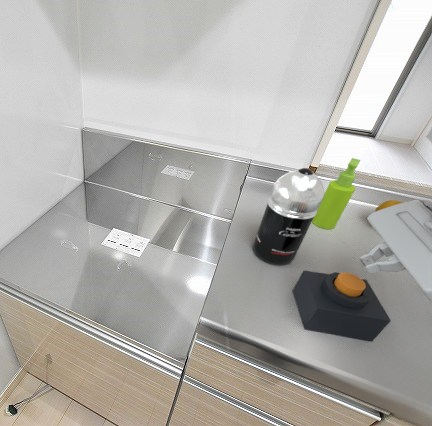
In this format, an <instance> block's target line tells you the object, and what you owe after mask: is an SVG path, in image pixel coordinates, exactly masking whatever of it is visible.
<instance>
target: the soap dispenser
mask: <svg viewBox="0 0 432 426" xmlns="http://www.w3.org/2000/svg"><path fill="white" fill-rule="evenodd" d="M360 162H361V159H358V158H355V157H354V158H353V157H352V158H351V159H350V161H349V162H348V164H347V167H346V169H345V170H342V171H340V173H339V175H338V177H337V179H334V180H331V181H329V183H328V185H327V187H326V190H325V191H324V198H323V200H322V202H321V204H320V206H319V209H318V211H317V214H316V216H315V217H314V218H313V220H312V222H311V223H312V224H313V225H315V226H316V227H318V228H320V229H324V230H333V229H335V227H336V225H337V224H338V222H339V221H340V218H341V217H342V215H343V213H344V211H345V209H346V206H348V203H349V202H350V200H351V198H352V196H353V194H354V193H355V191H356V186H355V185H353V183H354V181H355V179H356V177H357V174H355V171H356V169H357V168H358V166H359V164H360Z"/></svg>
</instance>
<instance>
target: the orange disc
mask: <svg viewBox="0 0 432 426" xmlns="http://www.w3.org/2000/svg"><path fill="white" fill-rule="evenodd" d="M339 273H340V274H339V275H338V277H337V278H336V280H335V281H334V286H335V288H336V289H338V290H339V291H340V292H341V293H343V294H346V295H348V296H351V297H358V296H360V295H361V293H362V292H363V290H364V289H365V288H366V285H365V282H364V281H363V280H362V279H363V278H361V277H360V276H358V275H356V274H354V273H351V272H339Z"/></svg>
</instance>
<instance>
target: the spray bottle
mask: <svg viewBox="0 0 432 426" xmlns="http://www.w3.org/2000/svg"><path fill="white" fill-rule="evenodd" d="M324 194H325V187H324V185H323V182H322V180H321V179H320V178H319V177H318V176H317V174H316V173H314V172H313V170H312V169H310V168H308V167H301V168H299V169H295V170H291V171H288V172H287V173H285V174H283V175H281V176H280V177H279V178H278V179H277V180H276V181H275V182H274V184H273V186H272V189H271V193H270V195H269V197H268V199H267V204H266V206H265V210H264V212H263V215H262V218H261V221H260V224H259V227H258V229H257V233H256V235H255V238H254V241H253V244H252V248H253V251H254V253H255V255H256V256H257V257H258V258H259V259H260V260H262V261H264V262H266V263H268V264H272V265H277V266H283V265H288V264H290V263H291V262H293V261H294V260H295V257H296V255H297V253H298V252H299V249H300V247H301V245H302V243H303V241H304V238H305V237H306V235H307V233H308V230H309V228H310V227H311V224H312V223H313V222H312V220H313V218H314V217H315V216H316V214H317V211H318V209H319V206H320V204H321V202H322V200H323V198H324Z"/></svg>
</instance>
